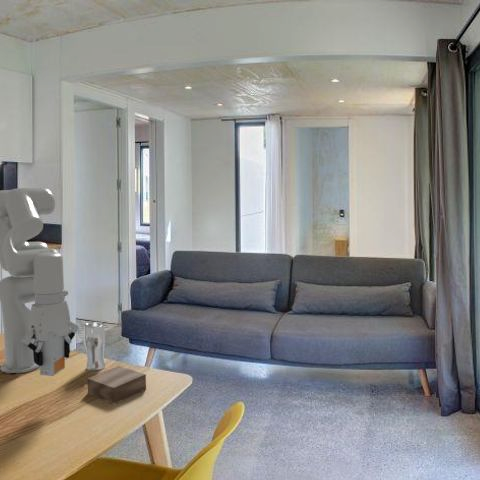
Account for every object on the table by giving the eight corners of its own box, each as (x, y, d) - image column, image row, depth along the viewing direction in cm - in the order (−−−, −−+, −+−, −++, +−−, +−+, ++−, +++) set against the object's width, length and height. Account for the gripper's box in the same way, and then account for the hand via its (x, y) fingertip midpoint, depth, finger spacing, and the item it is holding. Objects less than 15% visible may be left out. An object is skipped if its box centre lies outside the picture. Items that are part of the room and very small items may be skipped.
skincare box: (53, 376, 131) (51, 334, 130) (39, 375, 132) (37, 332, 130) (65, 368, 137) (64, 327, 136) (52, 366, 138) (50, 326, 136)
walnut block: (87, 394, 143) (87, 378, 143) (119, 381, 153) (119, 366, 152) (114, 404, 136) (113, 387, 136) (146, 390, 146) (145, 374, 145)
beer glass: (94, 372, 159) (93, 328, 158) (80, 368, 163) (78, 325, 161) (110, 366, 165) (109, 323, 164) (96, 362, 169) (95, 320, 167)
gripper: (71, 290, 141) (73, 349, 143) (11, 301, 128) (14, 366, 130) (85, 294, 136) (87, 355, 138) (24, 306, 123) (28, 373, 125)
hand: (52, 360), depth 134 cm, fingers closed on skincare box, 7 cm apart
